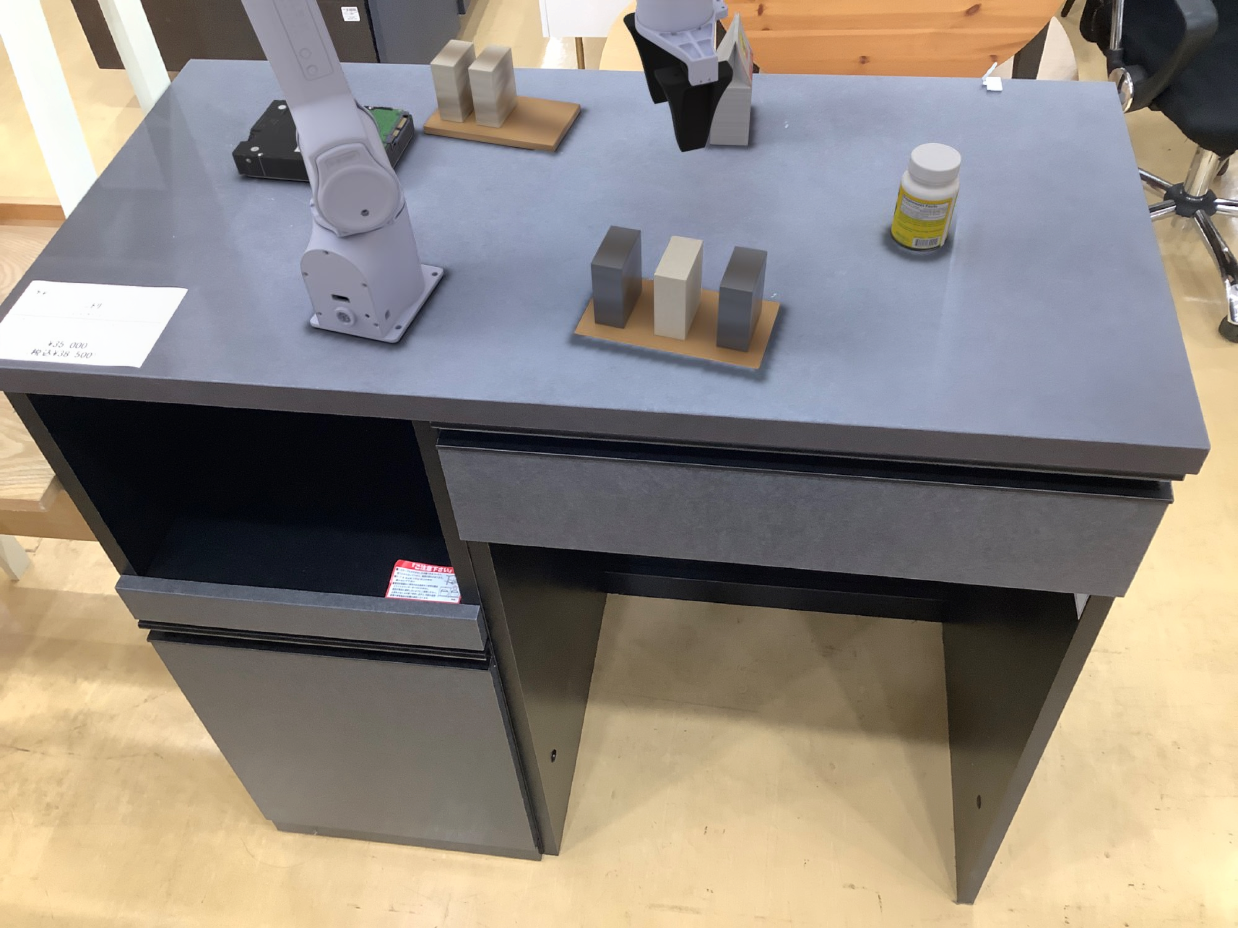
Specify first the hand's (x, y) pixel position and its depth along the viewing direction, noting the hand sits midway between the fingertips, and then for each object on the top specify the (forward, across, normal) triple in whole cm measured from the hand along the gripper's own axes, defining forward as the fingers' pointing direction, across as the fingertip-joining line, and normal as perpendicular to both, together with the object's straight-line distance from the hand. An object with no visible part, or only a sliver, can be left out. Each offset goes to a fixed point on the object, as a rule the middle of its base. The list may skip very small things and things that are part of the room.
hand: (678, 123), depth 81 cm
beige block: (+9, -14, +4) cm, 17 cm away
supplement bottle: (+11, -9, -18) cm, 23 cm away
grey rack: (+9, -13, +5) cm, 17 cm away
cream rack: (+9, +21, +12) cm, 26 cm away
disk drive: (+9, +21, +30) cm, 37 cm away
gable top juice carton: (+10, +13, -9) cm, 19 cm away
